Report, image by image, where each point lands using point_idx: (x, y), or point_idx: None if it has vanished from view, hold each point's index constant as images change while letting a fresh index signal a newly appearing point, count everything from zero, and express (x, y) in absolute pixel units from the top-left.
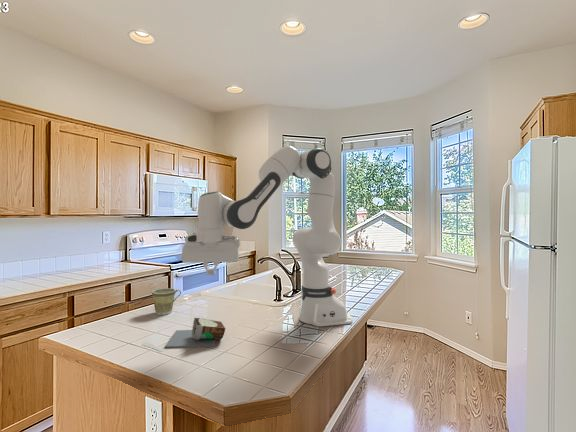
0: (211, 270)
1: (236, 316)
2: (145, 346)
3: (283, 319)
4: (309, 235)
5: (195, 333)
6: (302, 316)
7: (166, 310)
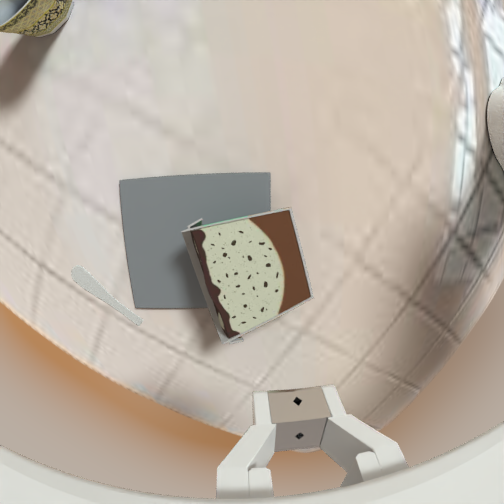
0: (304, 443)
1: (316, 32)
2: (85, 289)
3: (457, 104)
4: None
5: (216, 324)
6: (501, 140)
7: (54, 23)
